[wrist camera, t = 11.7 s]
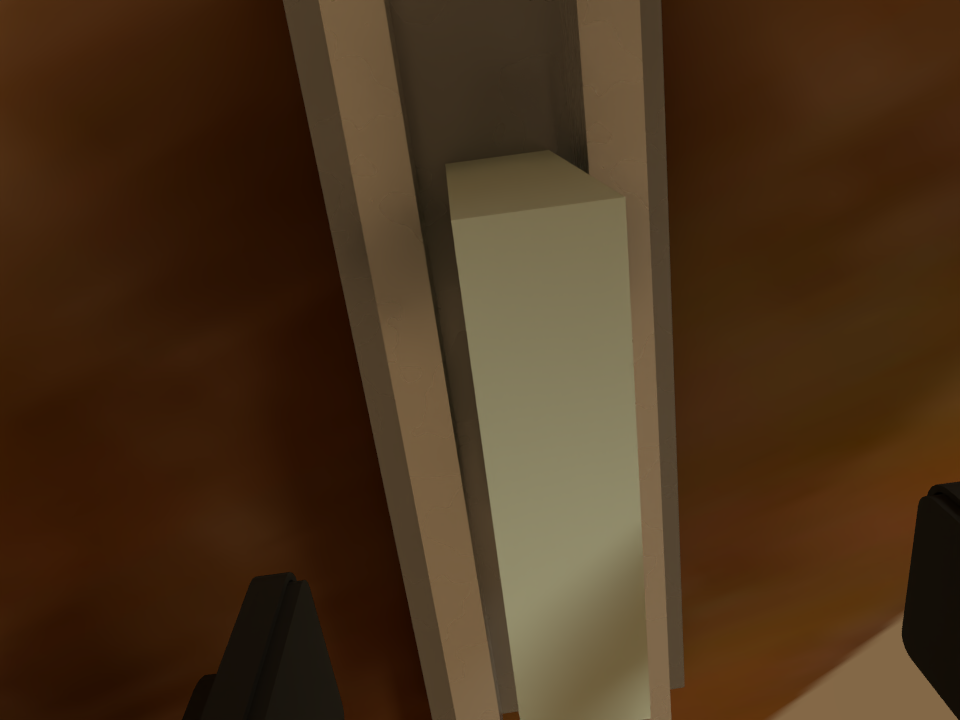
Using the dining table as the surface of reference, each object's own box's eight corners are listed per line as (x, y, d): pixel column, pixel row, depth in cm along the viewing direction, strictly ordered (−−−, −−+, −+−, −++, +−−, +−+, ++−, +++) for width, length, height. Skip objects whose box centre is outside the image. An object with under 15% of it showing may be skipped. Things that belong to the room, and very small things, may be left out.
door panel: (445, 163, 21) (451, 220, 12) (548, 149, 21) (625, 197, 12) (493, 516, 25) (522, 736, 17) (579, 504, 25) (650, 718, 17)
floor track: (252, -180, 18) (212, -237, 15) (641, -235, 18) (685, -303, 15) (433, 702, 29) (432, 781, 26) (676, 667, 29) (706, 741, 26)
